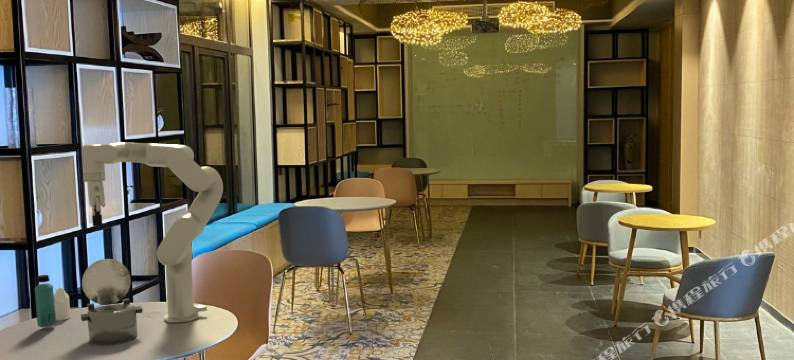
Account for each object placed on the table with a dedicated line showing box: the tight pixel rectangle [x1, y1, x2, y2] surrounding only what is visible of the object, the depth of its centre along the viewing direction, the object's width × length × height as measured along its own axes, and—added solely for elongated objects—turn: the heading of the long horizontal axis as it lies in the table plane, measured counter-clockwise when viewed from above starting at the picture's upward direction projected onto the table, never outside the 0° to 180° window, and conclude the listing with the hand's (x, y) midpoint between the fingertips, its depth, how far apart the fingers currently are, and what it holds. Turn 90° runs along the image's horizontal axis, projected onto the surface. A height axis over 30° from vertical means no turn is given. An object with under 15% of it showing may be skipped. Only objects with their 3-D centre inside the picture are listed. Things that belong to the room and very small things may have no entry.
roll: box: [54, 287, 71, 322], centre depth 300 cm, size 6×12×6 cm
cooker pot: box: [80, 298, 144, 346], centre depth 273 cm, size 20×17×11 cm
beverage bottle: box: [34, 274, 57, 328], centre depth 286 cm, size 6×7×20 cm
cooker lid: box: [81, 258, 132, 306], centre depth 281 cm, size 16×16×4 cm
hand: (97, 225), depth 292 cm, fingers closed
